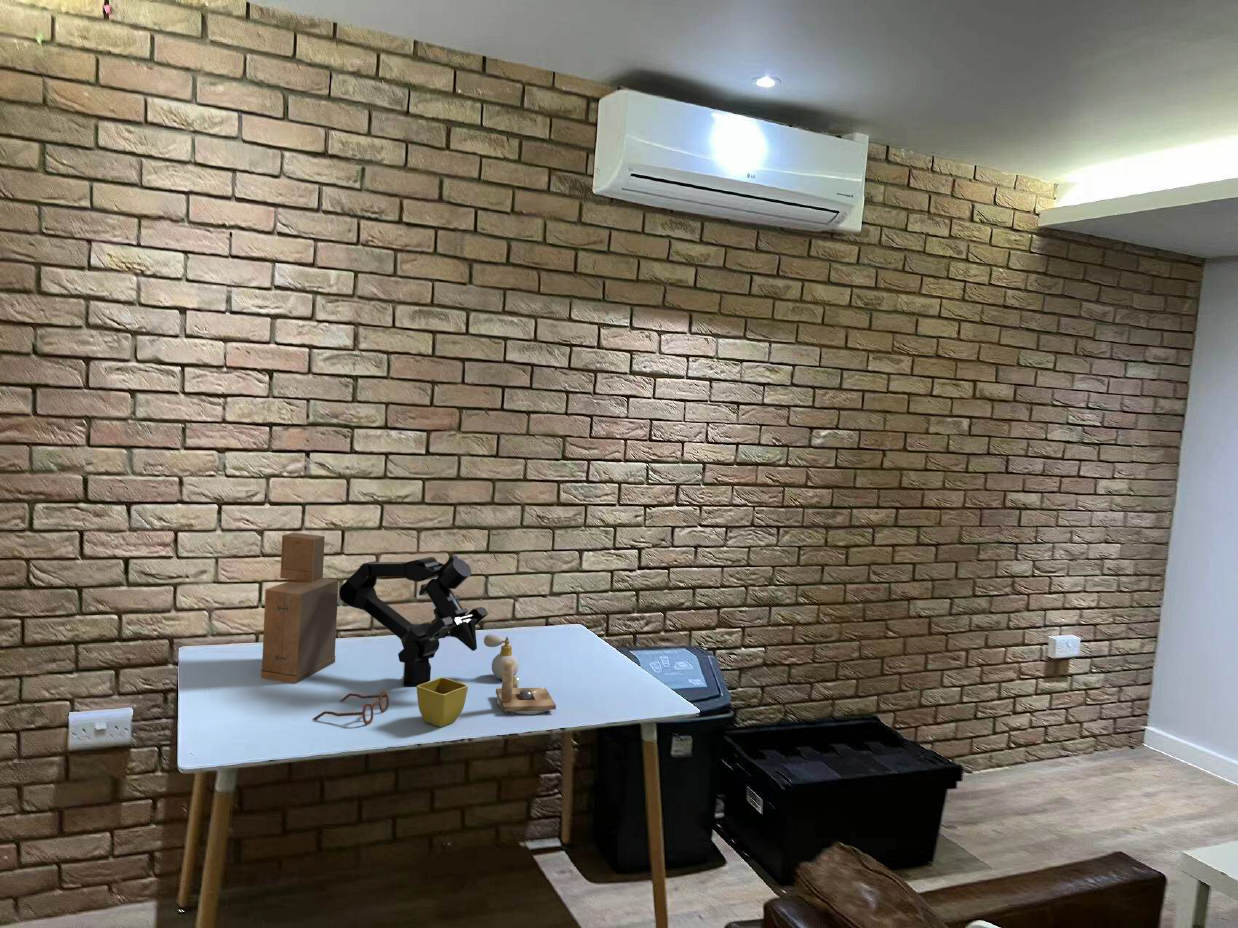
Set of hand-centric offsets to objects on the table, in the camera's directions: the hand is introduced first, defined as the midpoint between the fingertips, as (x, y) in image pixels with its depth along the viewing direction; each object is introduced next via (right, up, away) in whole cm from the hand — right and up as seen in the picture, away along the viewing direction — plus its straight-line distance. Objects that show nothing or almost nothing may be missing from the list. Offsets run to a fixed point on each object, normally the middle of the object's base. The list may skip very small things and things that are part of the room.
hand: (475, 649), depth 225 cm
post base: (+12, -14, +1) cm, 18 cm away
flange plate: (+13, -13, 0) cm, 18 cm away
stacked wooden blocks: (-50, -8, +14) cm, 52 cm away
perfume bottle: (+4, -12, +18) cm, 22 cm away
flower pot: (-6, -14, -16) cm, 22 cm away
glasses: (-27, -13, -14) cm, 33 cm away
